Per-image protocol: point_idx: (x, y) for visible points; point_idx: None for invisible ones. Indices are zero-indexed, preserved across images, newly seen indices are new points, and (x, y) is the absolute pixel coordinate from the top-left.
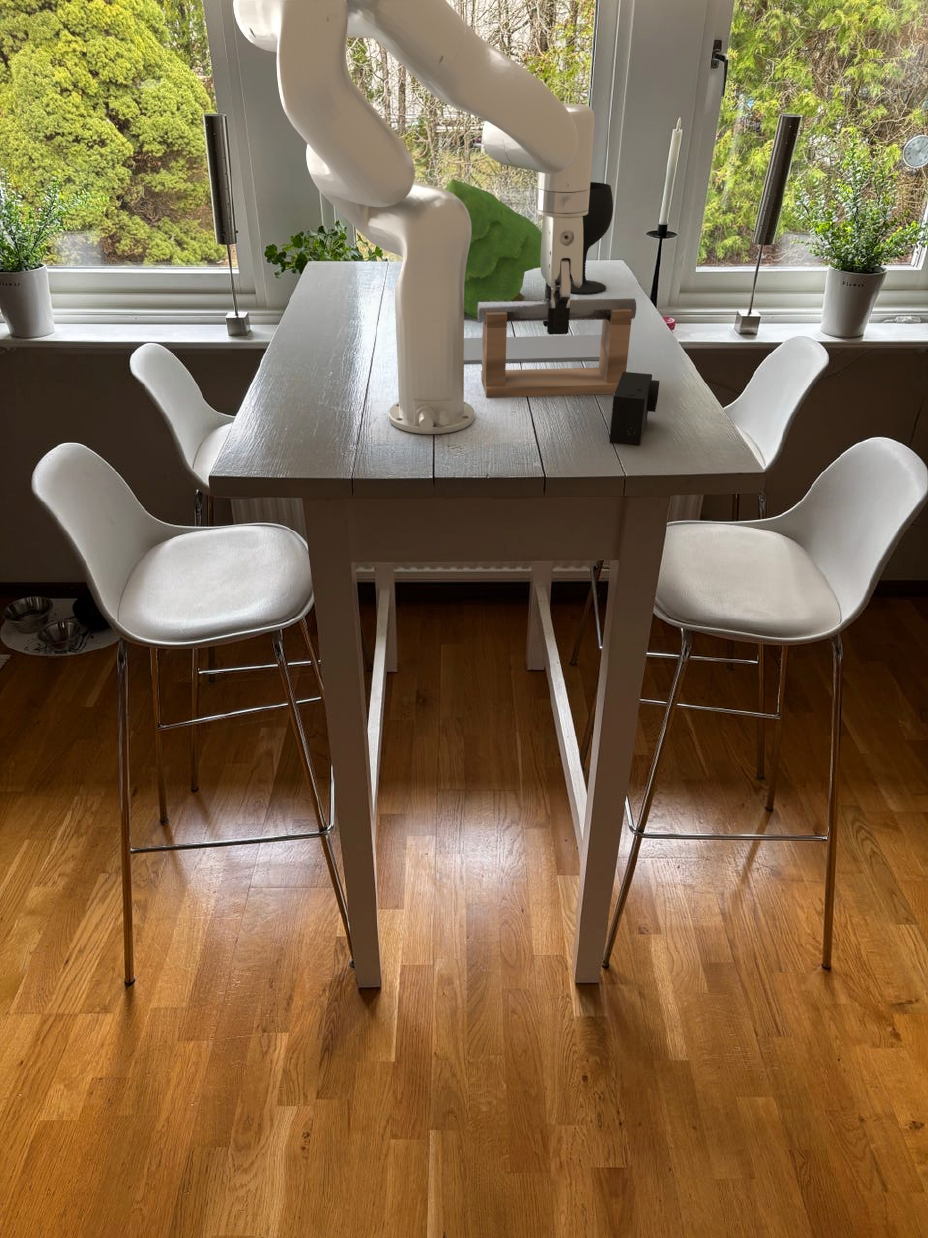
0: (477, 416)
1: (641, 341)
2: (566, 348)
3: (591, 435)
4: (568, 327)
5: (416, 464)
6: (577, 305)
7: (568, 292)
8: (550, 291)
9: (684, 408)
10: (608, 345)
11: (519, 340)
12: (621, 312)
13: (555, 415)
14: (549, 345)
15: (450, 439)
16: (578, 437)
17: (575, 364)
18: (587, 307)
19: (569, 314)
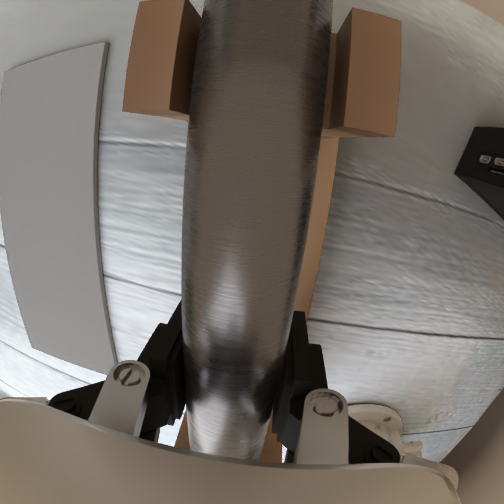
0: (363, 397)
1: (36, 14)
2: (47, 166)
3: (497, 256)
4: (304, 322)
5: (444, 439)
6: (277, 337)
7: (453, 485)
8: (141, 430)
9: (437, 28)
10: (323, 134)
11: (18, 249)
12: (396, 82)
13: (412, 291)
14: (33, 199)
15: (414, 422)
16: (493, 278)
17: (118, 159)
18: (295, 278)
19: (309, 357)
